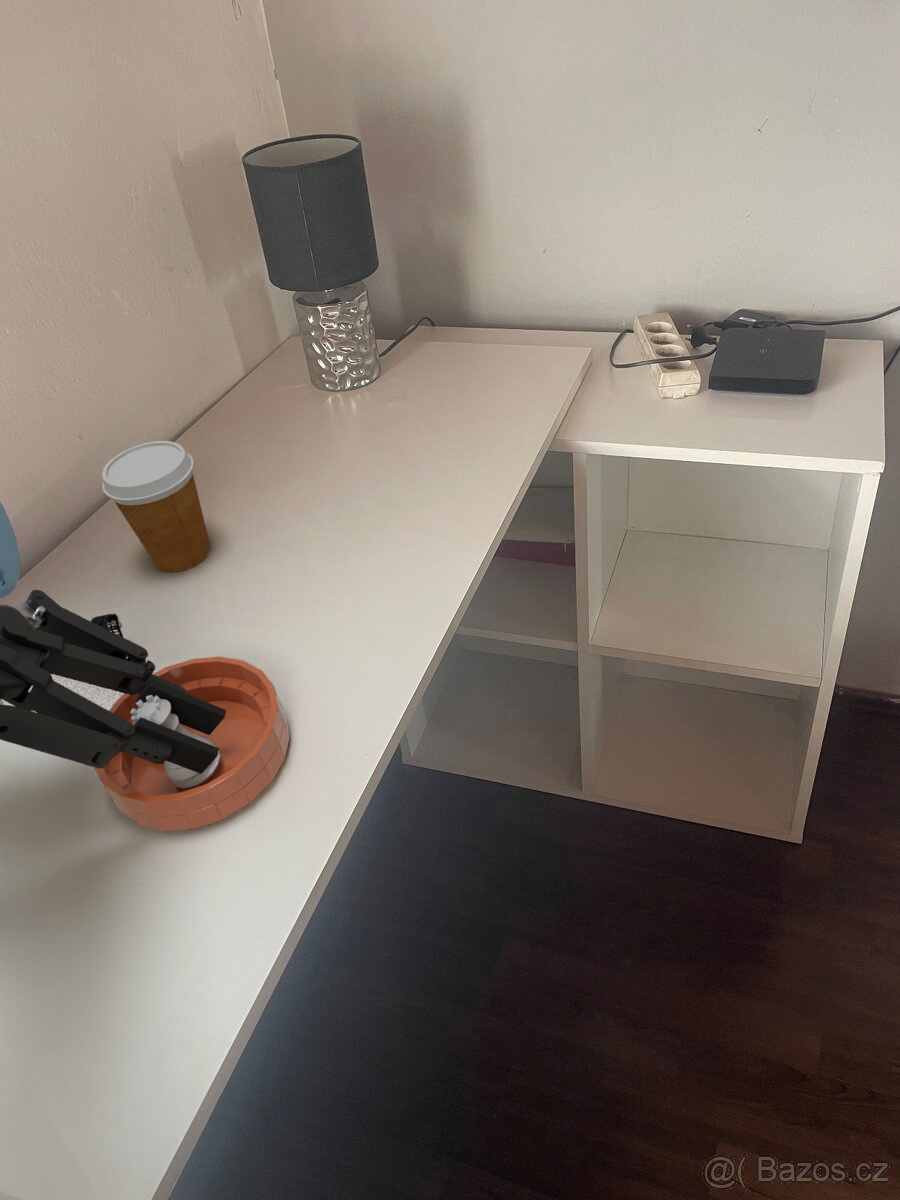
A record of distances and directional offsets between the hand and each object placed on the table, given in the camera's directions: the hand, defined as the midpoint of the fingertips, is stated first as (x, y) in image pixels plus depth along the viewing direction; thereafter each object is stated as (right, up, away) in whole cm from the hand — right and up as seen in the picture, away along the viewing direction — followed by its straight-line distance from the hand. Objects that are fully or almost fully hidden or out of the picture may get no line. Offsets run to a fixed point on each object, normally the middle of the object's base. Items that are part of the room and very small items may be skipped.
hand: (213, 741), depth 69 cm
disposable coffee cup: (-11, +16, +27) cm, 34 cm away
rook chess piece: (-2, -3, +2) cm, 4 cm away
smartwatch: (-13, +5, +15) cm, 21 cm away
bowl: (-2, -2, +4) cm, 5 cm away
